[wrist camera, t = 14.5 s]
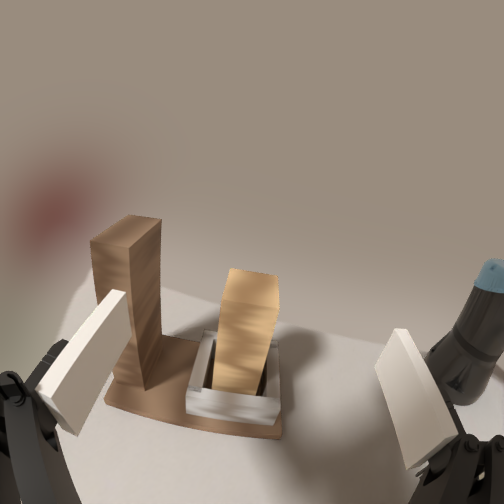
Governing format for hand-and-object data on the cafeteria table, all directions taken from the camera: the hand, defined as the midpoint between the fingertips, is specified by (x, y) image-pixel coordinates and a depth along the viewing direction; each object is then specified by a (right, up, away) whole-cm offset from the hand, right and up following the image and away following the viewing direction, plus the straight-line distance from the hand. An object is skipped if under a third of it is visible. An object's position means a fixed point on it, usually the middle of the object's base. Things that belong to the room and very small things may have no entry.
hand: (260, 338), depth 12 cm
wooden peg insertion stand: (-7, -13, +20) cm, 25 cm away
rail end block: (-3, -13, +20) cm, 24 cm away
